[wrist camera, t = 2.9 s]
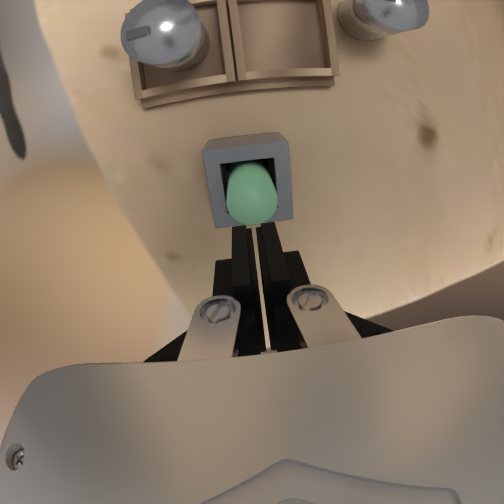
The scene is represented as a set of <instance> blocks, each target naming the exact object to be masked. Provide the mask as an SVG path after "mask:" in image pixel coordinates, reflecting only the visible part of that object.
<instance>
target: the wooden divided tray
mask: <svg viewBox="0 0 504 504" xmlns="http://www.w3.org/2000/svg"><path fill="white" fill-rule="evenodd" d="M188 1H189V2H190V3H191V4H192V5H193V6H194V8H195V9H196V11H197V13H198V15H199V17H200V19H201V21H202V23H203V25H204V27H205V29H206V31H207V33H208V35H209V38H210V48H209V52H208V54H207V56H206V58H205V59H204V60H203V61H202V62H201V63H200V64H199V65H198V66H196V67H195V68H193V69H190V70H188V71H183V72H173V71H169V70H166V69H162V68H159V67H156V66H152V65H149V64H145V63H142V62H139V61H137V60H135V59H133V58H132V57H130V56H129V58H130V66H131V73H132V80H133V87H134V93H135V100H141V102H142V108H143V109H144V108H149V107H153V106H158V105H162V104H167V103H171V102H176V101H181V100H187V99H192V98H198V97H204V96H210V95H217V94H224V93H231V92H239V91H248V90H258V89H270V88H284V87H306V86H335V85H334V76H339V65H338V56H337V47H336V38H335V30H334V23H333V16H332V9H331V3H330V0H188ZM131 10H132V9H131ZM131 10H130V11H131ZM128 14H129V13H126V14H125V18H126V16H127V15H128Z"/></svg>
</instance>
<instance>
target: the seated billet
mask: <svg viewBox="0 0 504 504" xmlns="http://www.w3.org/2000/svg"><path fill="white" fill-rule="evenodd" d="M121 42H122V45H123V48H124V50H125V51H126V52H127V54H128V55H129V56H130V57H132V58H133V59H135V60H137V61H139V62H142V63H145V64H149V65H152V66H156V67H159V68H162V69H166V70H169V71H173V72H183V71H188V70H190V69H193V68H195V67H196V66H198V65H199V64H200V63H201V62H202V61H203V60H204V59H205V58H206V56H207V54H208V52H209V48H210V38H209V35H208V33H207V31H206V29H205V27H204V25H203V23H202V21H201V19H200V17H199V15H198V13H197V11H196V9H195V8H194V6H193V5H192V4H191V3H190V2H189V1H188V0H144V1H142V2H140V3H139V4H137V5H136V6H135V7H134V8H133V9H132V10H131V11H130V12H129V14H128V15H127V16H126V18H125V20H124V22H123V25H122V29H121Z"/></svg>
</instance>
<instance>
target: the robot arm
mask: <svg viewBox="0 0 504 504" xmlns="http://www.w3.org/2000/svg"><path fill="white" fill-rule="evenodd" d="M256 234H257V243H258V251H259V260H260V269H261V278H262V286H263V294H264V301H265V309H266V316H267V323H268V331H269V338H270V346H271V350H277V352H276V353H268V354H261V352H264V351H266V344H265V336H264V328H263V319H262V311H261V302H260V294H259V286H258V278H257V269H256V261H255V253H254V245H253V237H252V229H251V228H248V229H246V225H243V226H235V227H232V259H225V260H217V261H216V263H215V274H214V285H213V296H212V297H210V298H207V299H206V300H204V301H202V302H201V303H200V304H199V305H198V306H197V307H196V309H195V311H194V314H193V317H192V320H191V323H190V325H189V328H188V330H187V331H186V332H184V333H183V334H182V335H180V336H179V337H177V338H176V339H175V340H173V341H172V342H170V343H169V344H167V345H166V346H165V347H163V348H162V349H160V350H159V351H158V352H156V353H155V354H153V355H152V356H150V357H149V358H148V359H146V360H145V361H144V362H140V363H85V364H75V365H69V366H63V367H59V368H56V369H53V370H50V371H47V372H45V373H42V374H41V375H39V376H37V377H36V378H35V379H33V380H32V381H31V383H30V384H29V385H28V387H27V388H26V389H25V391H24V393H23V394H22V396H21V398H20V400H19V401H18V403H17V405H16V407H15V410H14V412H13V414H12V416H11V419H10V421H9V424H8V427H7V429H6V432H5V435H4V437H3V440H2V443H1V446H0V504H504V321H502V320H500V319H497V318H493V317H488V316H463V317H455V318H450V319H444V320H440V321H436V322H432V323H427V324H423V325H418V326H414V327H411V328H407V329H403V330H398V331H393V330H391V329H388V328H386V327H383V326H380V325H378V324H375V323H373V322H370V321H368V320H365V319H363V318H360V317H358V316H355V315H352V314H350V313H347V312H345V311H343V309H342V308H341V306H340V305H339V303H338V302H337V300H336V299H335V297H334V296H333V295H332V293H331V292H330V291H329V290H328V289H326V288H324V287H322V286H318V285H311V284H310V281H309V278H308V275H307V272H306V270H305V267H304V264H303V262H302V259H301V256H300V253H299V251H290V252H283V250H282V247H281V243H280V240H279V236H278V233H277V229H276V226H275V223H274V222H268V223H261V227H256Z"/></svg>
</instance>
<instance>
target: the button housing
mask: <svg viewBox="0 0 504 504" xmlns="http://www.w3.org/2000/svg"><path fill="white" fill-rule="evenodd" d="M202 153H203V159H204V165H205V171H206V177H207V183H208V189H209V195H210V201H211V206H212V212H213V218H214V223H215V228H221V227H229V226H237V225H246V224H243V223H240V222H238V221H237V220H235V219H234V218H233V217H232V216H231V214H230V213H229V211H228V208H227V204H226V199H227V187H228V182H227V175H226V168H225V163H231V162H238V161H247V160H255V159H264V158H268V160H269V170H270V177H271V180H272V182H273V185H274V187H275V190H276V193H277V196H278V205H277V208H276V211H275V212H274V214H273V215H272V216H271V217H270V218H269V219H268V220H267V221H265V222H271V221H280V220H288V219H293V203H292V187H291V172H290V159H289V146H288V141H287V140H286V139H285V138H284V137H283V136H282V135H281V134H280V133H279V132H273V133H262V134H253V135H244V136H236V137H228V138H221V139H214V140H209V141H208V143H207V145H206V146H205V148H204V150H203V151H202Z"/></svg>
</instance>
